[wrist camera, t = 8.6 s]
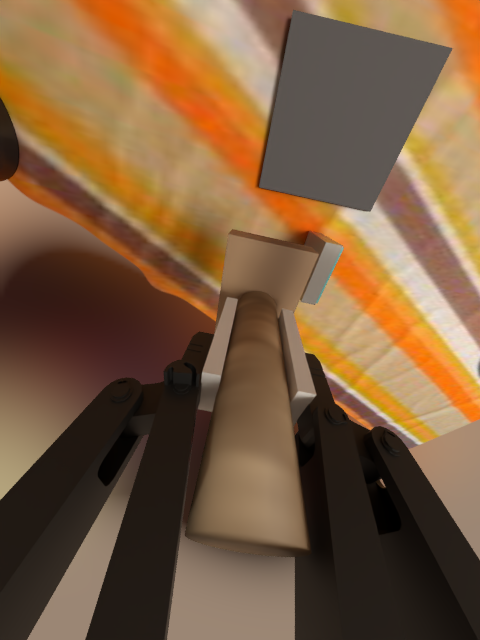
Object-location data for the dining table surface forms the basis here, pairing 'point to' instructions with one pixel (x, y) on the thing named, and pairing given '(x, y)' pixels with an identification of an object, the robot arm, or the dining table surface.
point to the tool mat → (345, 109)
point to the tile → (320, 265)
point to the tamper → (254, 410)
